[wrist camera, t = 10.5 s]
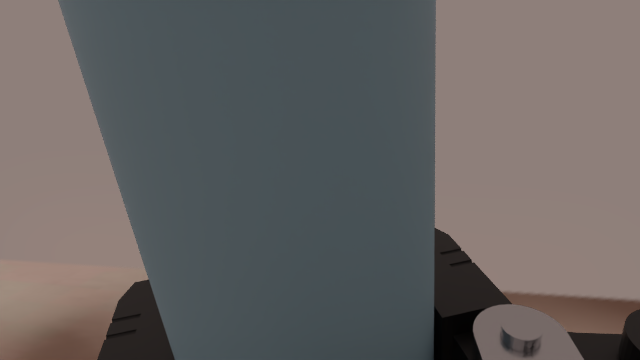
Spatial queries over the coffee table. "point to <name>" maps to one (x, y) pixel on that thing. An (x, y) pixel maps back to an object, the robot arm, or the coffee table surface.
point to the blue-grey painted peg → (273, 168)
